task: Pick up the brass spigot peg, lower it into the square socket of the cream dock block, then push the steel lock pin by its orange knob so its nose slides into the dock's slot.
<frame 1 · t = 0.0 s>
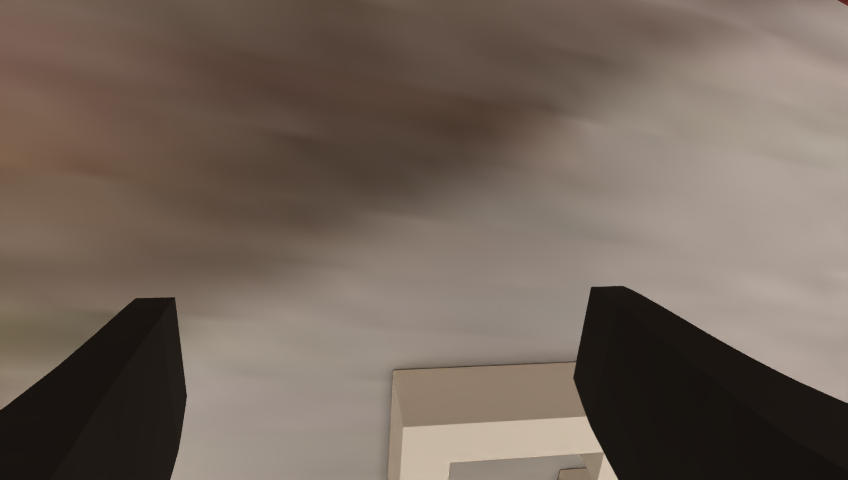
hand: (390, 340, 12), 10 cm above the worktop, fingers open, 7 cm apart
dock: (498, 454, 27), on the worktop
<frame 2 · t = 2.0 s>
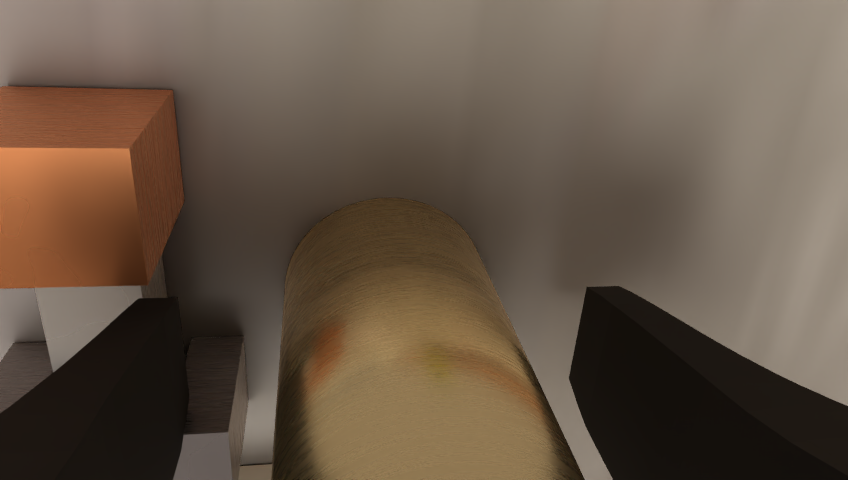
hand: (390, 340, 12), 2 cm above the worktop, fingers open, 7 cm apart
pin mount: (136, 374, 14), on the worktop
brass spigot: (385, 289, 14), on the worktop
lock pin: (96, 319, 11), point 2 cm above the worktop, slide at 0.0 cm
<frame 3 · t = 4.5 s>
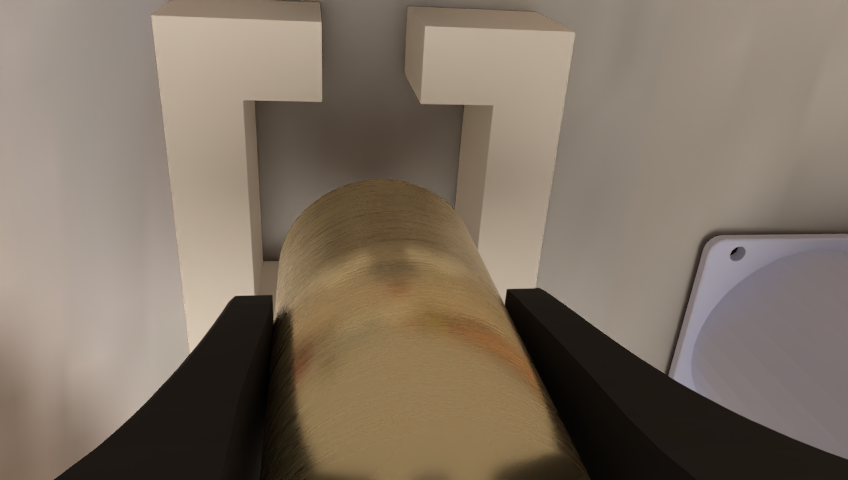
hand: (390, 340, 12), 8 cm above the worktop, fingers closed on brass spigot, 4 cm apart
dock: (360, 172, 19), on the worktop
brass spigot: (378, 271, 14), point 6 cm above the worktop, touching gripper
when the fingers open (4 cm above the worktop, at t = 5.8 s): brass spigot drops 1 cm, resting in dock.
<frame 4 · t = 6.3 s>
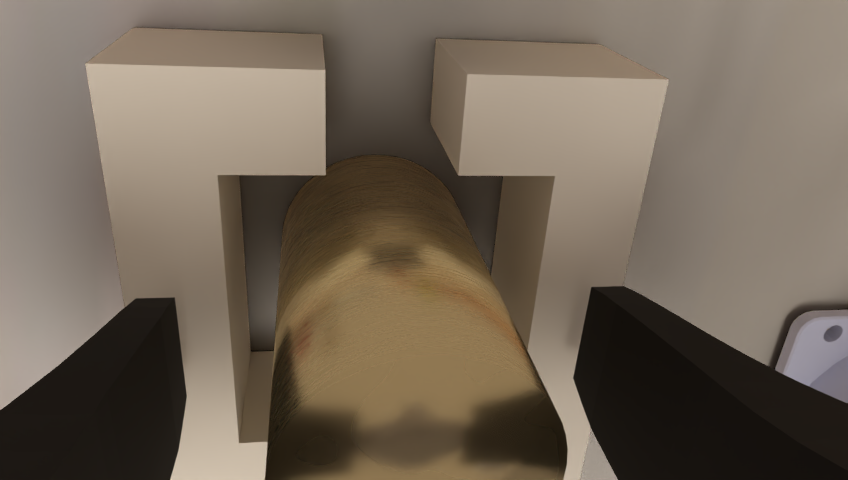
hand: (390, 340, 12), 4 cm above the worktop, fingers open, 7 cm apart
dock: (373, 243, 15), on the worktop
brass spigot: (373, 240, 15), resting in dock
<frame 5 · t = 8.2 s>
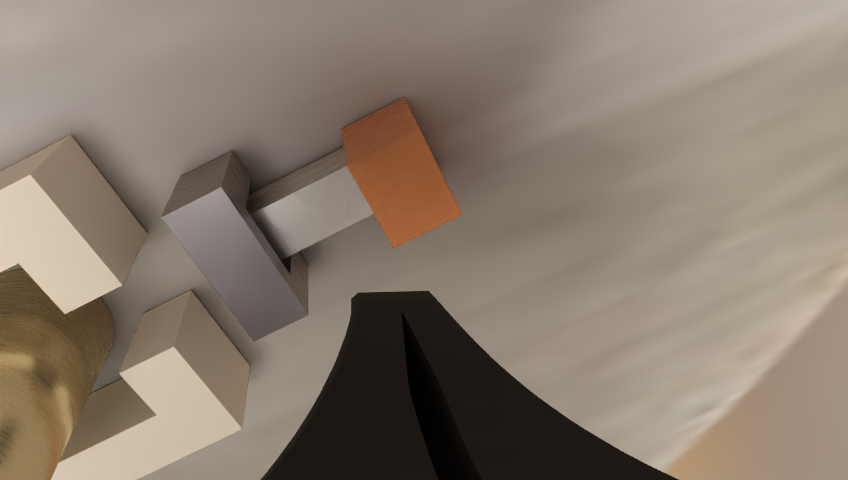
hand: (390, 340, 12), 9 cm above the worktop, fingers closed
dock: (41, 327, 21), on the worktop
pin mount: (247, 223, 20), on the worktop
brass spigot: (44, 325, 21), resting in dock
lock pin: (317, 210, 18), point 2 cm above the worktop, slide at 0.0 cm
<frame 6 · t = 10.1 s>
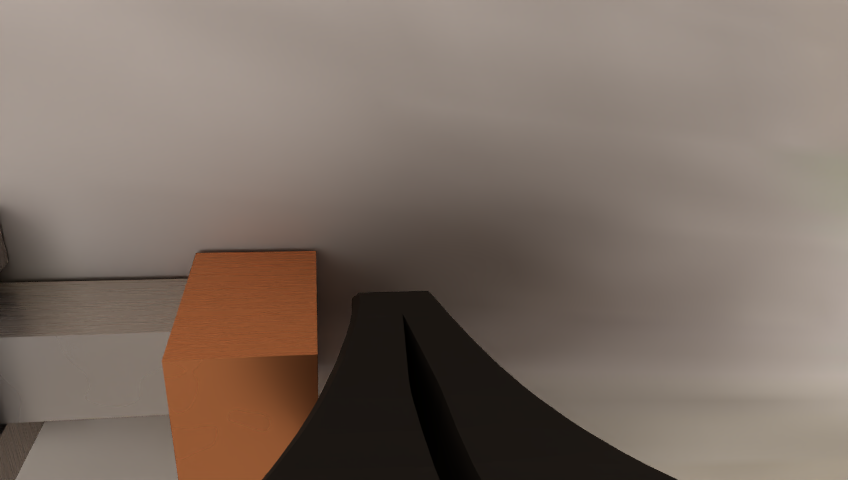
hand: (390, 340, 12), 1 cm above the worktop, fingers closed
lock pin: (88, 374, 10), point 2 cm above the worktop, slide at 0.0 cm, touching gripper
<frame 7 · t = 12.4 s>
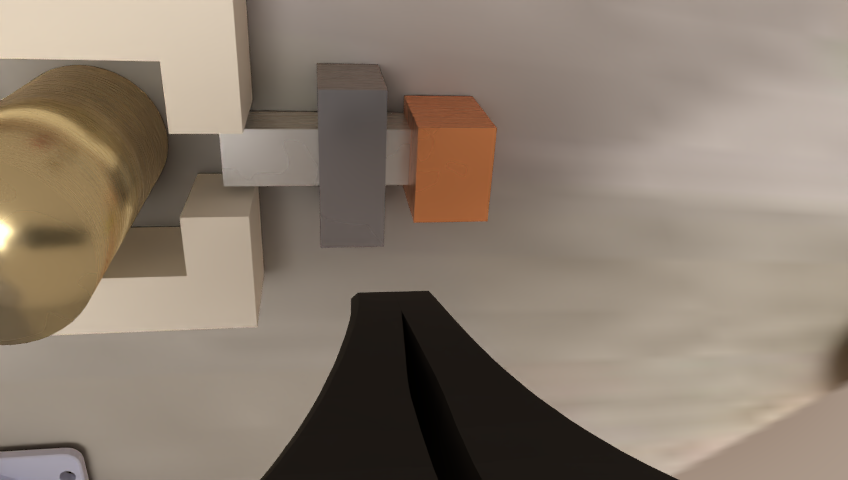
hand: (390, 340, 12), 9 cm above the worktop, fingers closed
dock: (88, 137, 19), on the worktop
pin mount: (347, 137, 20), on the worktop
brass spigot: (92, 137, 19), resting in dock
lock pin: (354, 156, 18), point 2 cm above the worktop, slide at 2.2 cm
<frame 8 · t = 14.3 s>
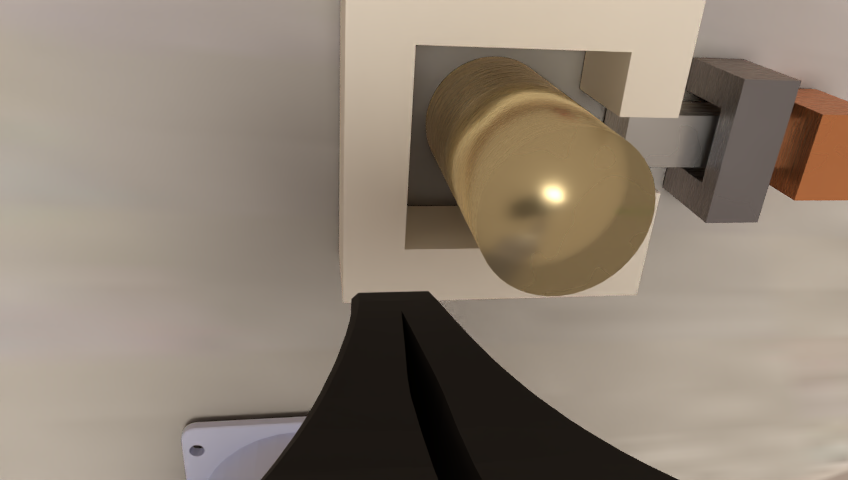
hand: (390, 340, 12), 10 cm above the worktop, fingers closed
dock: (487, 122, 21), on the worktop
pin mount: (701, 125, 22), on the worktop
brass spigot: (489, 122, 21), resting in dock
lock pin: (731, 141, 20), point 2 cm above the worktop, slide at 2.2 cm
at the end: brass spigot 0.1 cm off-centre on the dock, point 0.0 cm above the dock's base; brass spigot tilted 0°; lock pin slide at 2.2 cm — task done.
